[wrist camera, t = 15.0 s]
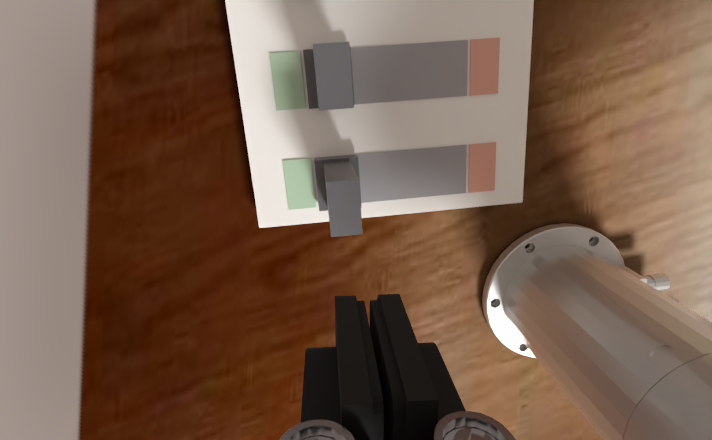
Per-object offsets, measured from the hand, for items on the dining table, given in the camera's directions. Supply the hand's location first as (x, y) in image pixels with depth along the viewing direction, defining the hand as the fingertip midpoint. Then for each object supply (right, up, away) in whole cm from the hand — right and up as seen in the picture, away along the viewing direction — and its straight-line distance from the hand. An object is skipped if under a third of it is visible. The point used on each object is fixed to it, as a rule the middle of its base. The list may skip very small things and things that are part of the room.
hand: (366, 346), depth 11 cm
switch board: (+2, +14, +19) cm, 24 cm away
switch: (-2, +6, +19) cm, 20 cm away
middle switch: (-2, +13, +17) cm, 21 cm away
